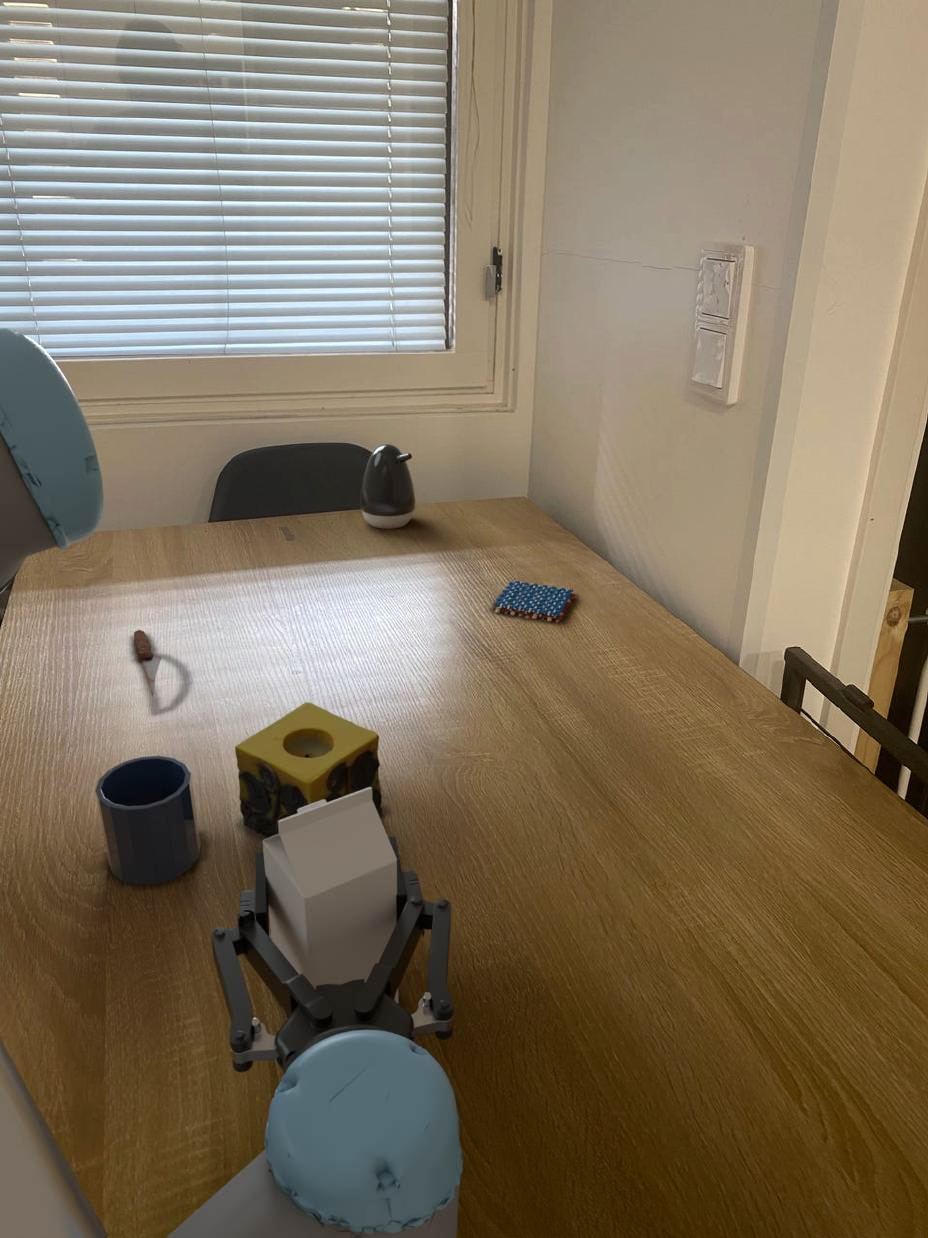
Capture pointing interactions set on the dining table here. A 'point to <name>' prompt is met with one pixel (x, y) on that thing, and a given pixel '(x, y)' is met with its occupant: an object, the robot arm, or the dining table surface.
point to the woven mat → (534, 601)
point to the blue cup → (149, 819)
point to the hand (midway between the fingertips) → (326, 857)
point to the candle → (304, 766)
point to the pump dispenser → (387, 489)
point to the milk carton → (332, 889)
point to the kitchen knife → (146, 657)
